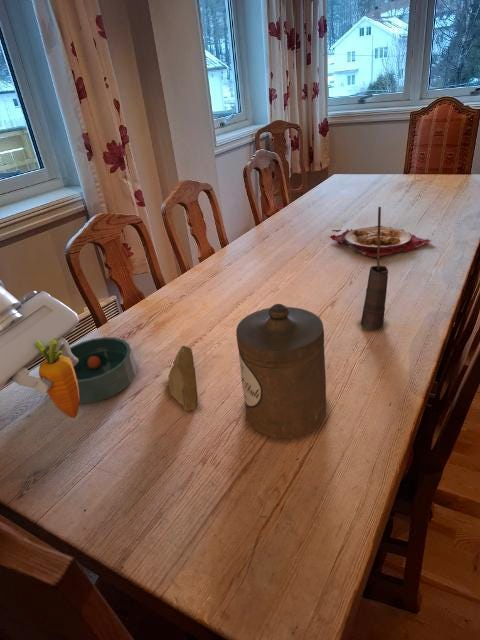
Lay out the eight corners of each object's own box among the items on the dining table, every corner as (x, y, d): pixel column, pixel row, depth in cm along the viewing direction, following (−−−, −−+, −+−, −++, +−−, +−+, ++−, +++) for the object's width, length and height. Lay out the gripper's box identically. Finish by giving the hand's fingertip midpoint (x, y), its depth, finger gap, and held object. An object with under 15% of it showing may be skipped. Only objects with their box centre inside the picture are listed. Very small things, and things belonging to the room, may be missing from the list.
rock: (209, 404, 80) (216, 366, 88) (174, 378, 77) (185, 342, 85) (171, 426, 85) (181, 389, 93) (138, 403, 82) (151, 367, 90)
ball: (89, 373, 96) (86, 362, 95) (88, 366, 99) (84, 355, 97) (103, 369, 97) (99, 358, 96) (101, 362, 100) (98, 351, 98)
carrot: (54, 417, 70) (22, 340, 63) (82, 403, 73) (56, 327, 66) (64, 433, 67) (33, 353, 60) (94, 417, 70) (67, 339, 62)
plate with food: (376, 262, 135) (377, 251, 133) (328, 239, 155) (328, 230, 154) (432, 245, 143) (434, 235, 142) (379, 226, 164) (380, 217, 162)
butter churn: (398, 338, 97) (409, 216, 83) (354, 337, 99) (358, 218, 85) (393, 317, 104) (403, 203, 91) (353, 317, 107) (356, 205, 93)
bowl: (61, 415, 85) (52, 392, 82) (58, 372, 99) (50, 351, 96) (143, 388, 90) (137, 365, 87) (129, 351, 104) (123, 330, 101)
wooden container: (249, 385, 87) (238, 288, 77) (323, 384, 85) (322, 284, 74) (242, 439, 75) (227, 331, 64) (328, 439, 72) (328, 328, 62)
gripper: (32, 297, 74) (93, 350, 76) (-76, 366, 58) (6, 431, 59) (44, 275, 71) (109, 331, 72) (-67, 341, 54) (20, 412, 56)
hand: (62, 377), depth 66 cm, fingers closed on carrot, 5 cm apart
